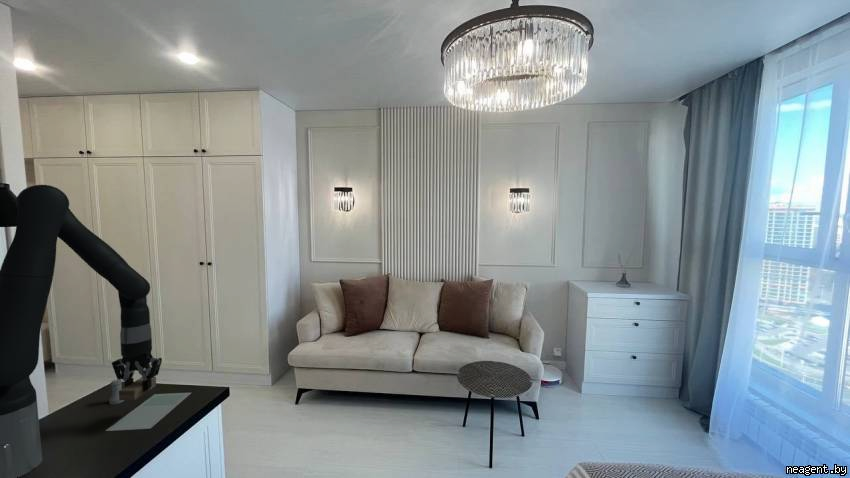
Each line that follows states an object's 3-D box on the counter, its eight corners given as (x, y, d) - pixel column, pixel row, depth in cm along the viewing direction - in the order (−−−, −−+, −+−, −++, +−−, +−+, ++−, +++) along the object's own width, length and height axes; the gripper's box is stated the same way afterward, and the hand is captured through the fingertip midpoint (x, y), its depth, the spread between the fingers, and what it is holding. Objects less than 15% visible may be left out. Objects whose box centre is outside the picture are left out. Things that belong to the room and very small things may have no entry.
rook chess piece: (113, 399, 120) (112, 378, 119) (128, 397, 121) (127, 376, 121) (106, 406, 116) (104, 384, 115) (122, 404, 117) (120, 382, 116)
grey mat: (150, 429, 103) (150, 428, 103) (105, 432, 102) (105, 430, 102) (191, 393, 124) (191, 392, 124) (154, 395, 123) (154, 394, 123)
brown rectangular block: (134, 399, 103) (134, 390, 102) (119, 400, 102) (118, 390, 102) (156, 385, 112) (155, 376, 111) (141, 386, 111) (141, 377, 111)
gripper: (101, 343, 102) (104, 397, 103) (151, 342, 103) (153, 396, 104) (122, 335, 109) (124, 385, 110) (168, 334, 110) (169, 384, 111)
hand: (138, 390), depth 107 cm, fingers closed on brown rectangular block, 4 cm apart
